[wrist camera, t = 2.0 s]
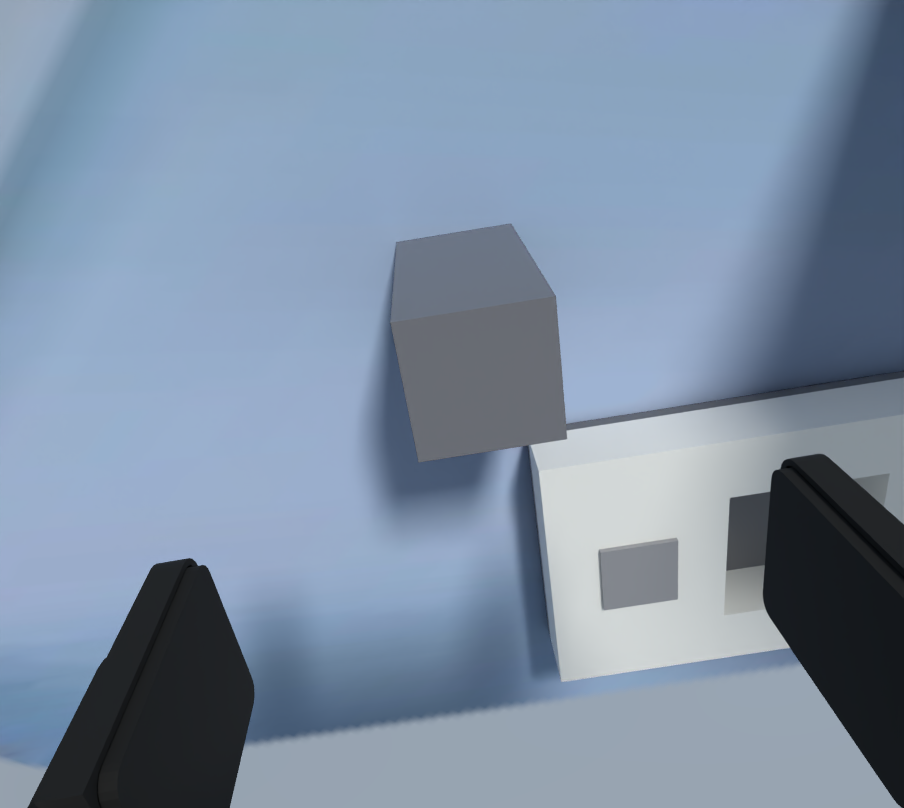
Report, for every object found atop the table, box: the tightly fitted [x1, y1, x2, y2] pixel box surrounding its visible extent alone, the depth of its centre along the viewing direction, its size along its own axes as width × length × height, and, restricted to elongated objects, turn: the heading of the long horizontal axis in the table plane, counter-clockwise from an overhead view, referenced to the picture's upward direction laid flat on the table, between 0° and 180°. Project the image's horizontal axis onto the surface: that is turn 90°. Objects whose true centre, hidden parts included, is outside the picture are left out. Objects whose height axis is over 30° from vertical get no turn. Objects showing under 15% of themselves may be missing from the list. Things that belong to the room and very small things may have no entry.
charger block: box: [390, 224, 567, 462], centre depth 21 cm, size 4×4×8 cm
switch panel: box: [528, 371, 904, 682], centre depth 28 cm, size 20×11×4 cm, turn 98°
